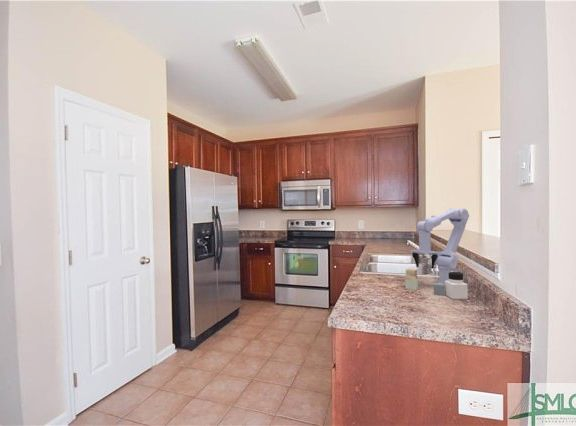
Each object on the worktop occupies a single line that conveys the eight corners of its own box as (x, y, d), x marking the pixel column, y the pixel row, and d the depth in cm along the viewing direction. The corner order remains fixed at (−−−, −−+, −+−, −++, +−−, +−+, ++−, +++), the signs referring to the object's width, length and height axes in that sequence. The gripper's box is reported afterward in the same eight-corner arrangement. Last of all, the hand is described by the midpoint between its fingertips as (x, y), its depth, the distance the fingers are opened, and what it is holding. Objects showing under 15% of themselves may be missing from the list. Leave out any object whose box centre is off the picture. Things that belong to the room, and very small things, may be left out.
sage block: (408, 286, 154) (408, 277, 154) (417, 288, 151) (417, 278, 151) (405, 288, 150) (405, 279, 150) (415, 290, 147) (415, 280, 147)
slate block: (433, 292, 143) (433, 282, 143) (443, 293, 141) (443, 283, 141) (434, 294, 139) (434, 284, 139) (444, 295, 137) (444, 285, 137)
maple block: (408, 277, 154) (408, 268, 154) (417, 278, 151) (417, 269, 151) (406, 279, 150) (405, 270, 150) (414, 280, 147) (414, 271, 147)
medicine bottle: (468, 299, 131) (467, 273, 131) (452, 299, 131) (452, 273, 131) (459, 294, 138) (458, 270, 138) (444, 294, 138) (444, 270, 138)
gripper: (408, 242, 155) (409, 267, 155) (437, 244, 146) (438, 270, 146) (412, 241, 161) (412, 265, 161) (440, 243, 152) (440, 268, 152)
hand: (425, 267), depth 154 cm, fingers open, 7 cm apart
